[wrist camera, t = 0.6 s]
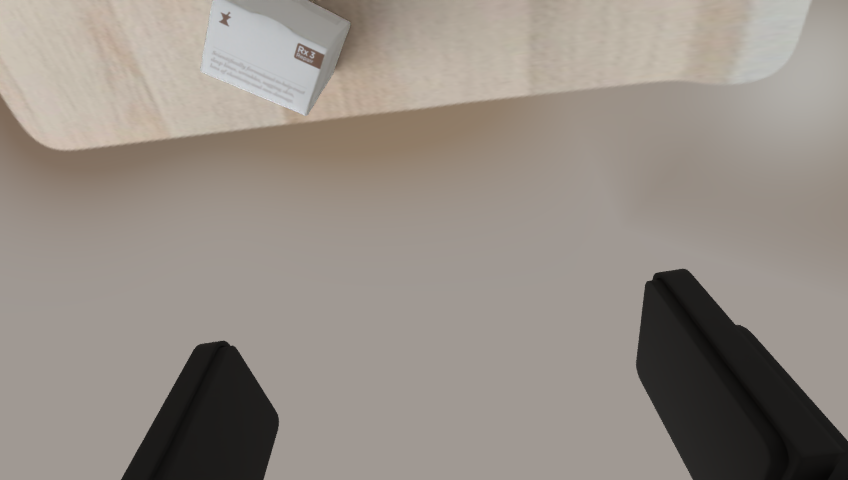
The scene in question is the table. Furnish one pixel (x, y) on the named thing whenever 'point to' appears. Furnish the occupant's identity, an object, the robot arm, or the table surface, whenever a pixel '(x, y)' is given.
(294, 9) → the cosmetic box
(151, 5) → the table surface
